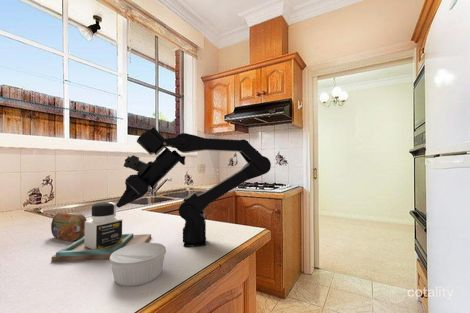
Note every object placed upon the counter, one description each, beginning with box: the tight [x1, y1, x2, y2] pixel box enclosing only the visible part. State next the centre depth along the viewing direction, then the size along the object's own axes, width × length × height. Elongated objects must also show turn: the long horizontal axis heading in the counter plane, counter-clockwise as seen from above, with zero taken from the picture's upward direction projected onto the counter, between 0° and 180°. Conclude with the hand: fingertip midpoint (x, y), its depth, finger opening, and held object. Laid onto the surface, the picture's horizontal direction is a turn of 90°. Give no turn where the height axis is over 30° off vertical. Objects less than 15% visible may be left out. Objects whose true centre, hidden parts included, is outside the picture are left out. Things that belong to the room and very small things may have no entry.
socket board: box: [50, 233, 152, 263], centre depth 64 cm, size 20×16×2 cm
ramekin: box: [109, 242, 167, 287], centre depth 48 cm, size 11×11×5 cm
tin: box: [50, 212, 88, 242], centre depth 73 cm, size 15×3×8 cm, turn 68°
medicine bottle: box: [84, 201, 123, 249], centre depth 64 cm, size 7×7×12 cm
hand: (122, 203), depth 65 cm, fingers open, 9 cm apart
